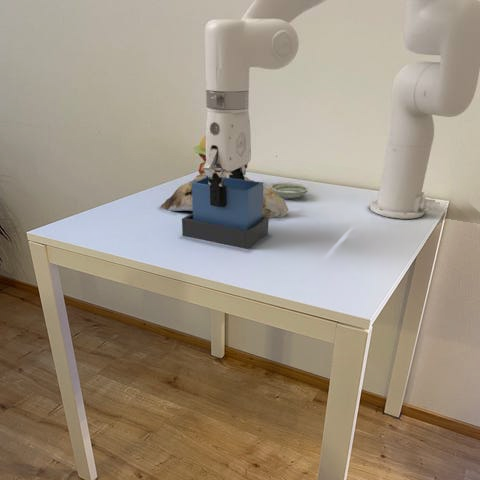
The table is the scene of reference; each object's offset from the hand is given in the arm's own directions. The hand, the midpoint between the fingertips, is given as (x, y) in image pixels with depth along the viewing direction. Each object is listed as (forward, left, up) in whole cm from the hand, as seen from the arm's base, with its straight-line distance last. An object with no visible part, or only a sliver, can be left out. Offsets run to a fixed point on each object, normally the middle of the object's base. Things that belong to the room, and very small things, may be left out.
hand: (227, 200), depth 93 cm
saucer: (0, -34, -8) cm, 35 cm away
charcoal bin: (0, 0, -8) cm, 8 cm away
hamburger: (+18, -31, -8) cm, 36 cm away
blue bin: (0, 0, -6) cm, 6 cm away
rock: (+9, -16, -8) cm, 20 cm away
